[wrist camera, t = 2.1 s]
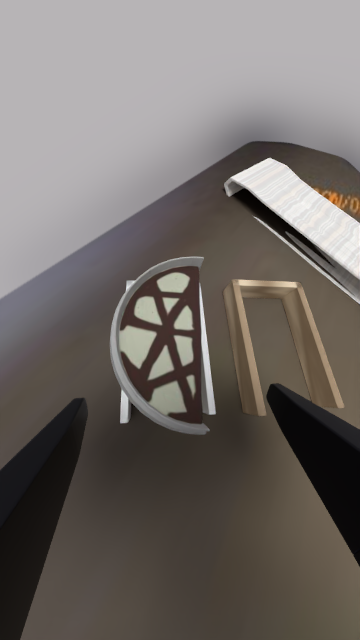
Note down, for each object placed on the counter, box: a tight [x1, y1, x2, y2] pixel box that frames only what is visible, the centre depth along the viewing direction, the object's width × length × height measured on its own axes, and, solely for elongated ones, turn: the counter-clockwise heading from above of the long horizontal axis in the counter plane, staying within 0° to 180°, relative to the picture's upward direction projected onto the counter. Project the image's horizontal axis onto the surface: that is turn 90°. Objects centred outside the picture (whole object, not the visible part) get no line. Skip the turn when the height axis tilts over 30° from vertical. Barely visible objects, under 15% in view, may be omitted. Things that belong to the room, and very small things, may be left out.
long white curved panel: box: [224, 158, 360, 304], centre depth 31 cm, size 12×4×40 cm
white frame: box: [120, 281, 216, 423], centre depth 19 cm, size 8×14×3 cm, turn 3°
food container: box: [110, 257, 210, 435], centre depth 16 cm, size 12×6×10 cm, turn 179°
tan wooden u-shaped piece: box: [223, 280, 344, 416], centre depth 22 cm, size 10×15×3 cm, turn 4°
